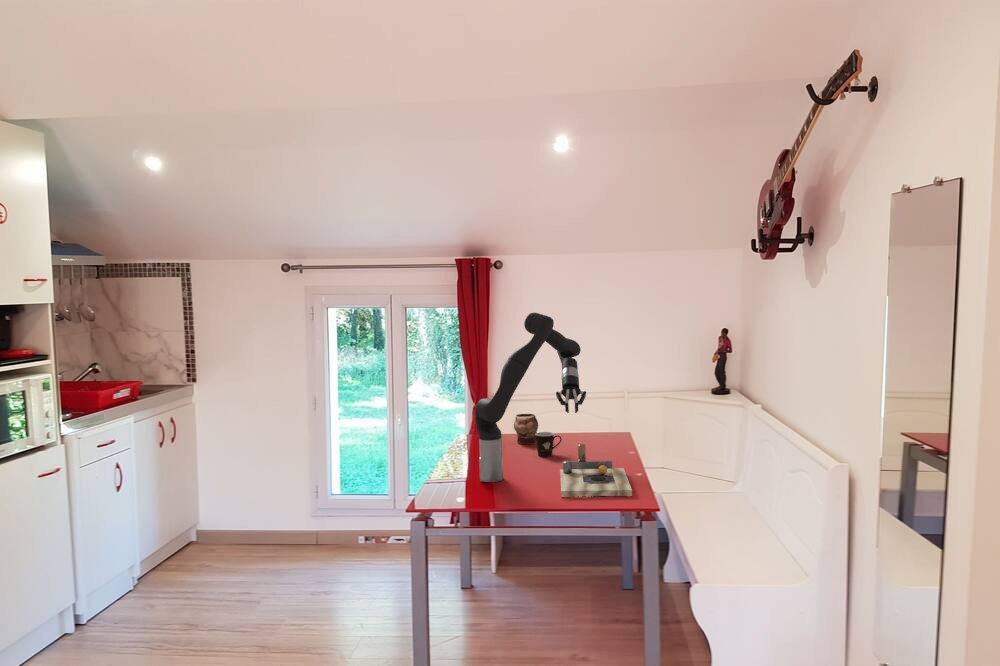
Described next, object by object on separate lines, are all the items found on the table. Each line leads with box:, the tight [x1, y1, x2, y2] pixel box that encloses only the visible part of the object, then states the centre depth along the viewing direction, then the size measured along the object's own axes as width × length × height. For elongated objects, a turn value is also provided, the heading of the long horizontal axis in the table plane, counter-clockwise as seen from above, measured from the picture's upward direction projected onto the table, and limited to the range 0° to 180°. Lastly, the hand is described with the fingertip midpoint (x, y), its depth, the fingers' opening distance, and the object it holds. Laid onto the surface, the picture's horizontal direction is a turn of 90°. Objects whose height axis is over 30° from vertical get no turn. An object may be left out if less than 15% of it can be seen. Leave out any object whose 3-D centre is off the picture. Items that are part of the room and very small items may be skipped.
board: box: [559, 467, 633, 498], centre depth 259 cm, size 26×28×2 cm
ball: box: [598, 465, 607, 474], centre depth 265 cm, size 4×4×4 cm
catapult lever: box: [562, 443, 613, 474], centre depth 268 cm, size 20×4×11 cm, turn 86°
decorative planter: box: [513, 413, 539, 445], centre depth 333 cm, size 20×12×14 cm, turn 173°
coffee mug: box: [535, 431, 562, 458], centre depth 305 cm, size 12×9×10 cm
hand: (572, 411), depth 284 cm, fingers open, 3 cm apart
